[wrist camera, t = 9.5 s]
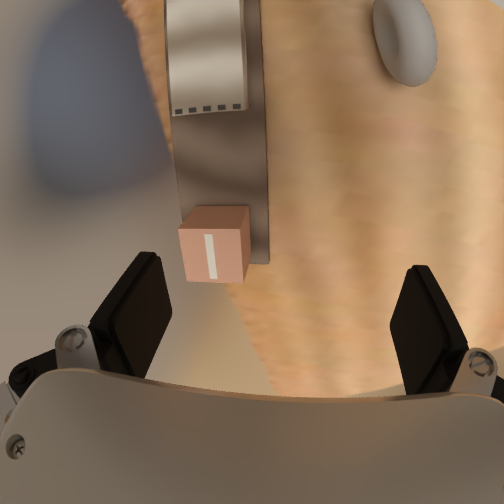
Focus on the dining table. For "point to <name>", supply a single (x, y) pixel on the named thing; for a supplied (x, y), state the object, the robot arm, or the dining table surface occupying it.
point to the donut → (405, 40)
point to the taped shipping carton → (216, 244)
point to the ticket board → (219, 109)
